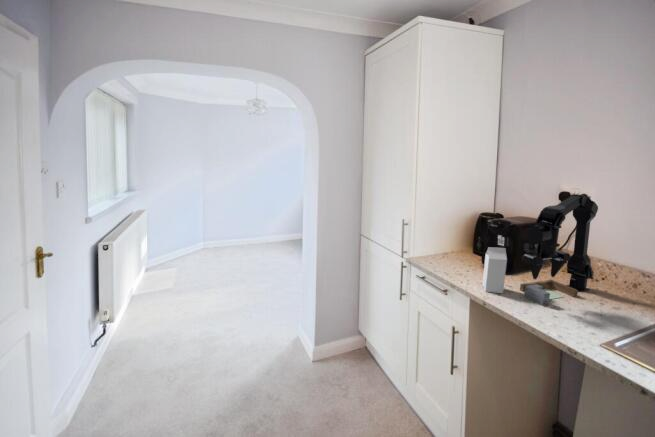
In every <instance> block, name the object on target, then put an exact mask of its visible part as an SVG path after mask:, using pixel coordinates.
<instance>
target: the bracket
mask: <svg viewBox="0 0 655 437" xmlns="http://www.w3.org/2000/svg"><path fill="white" fill-rule="evenodd" d="M523 296H524V298H525V299H527V300H529V301H531V302H533V303H535V304H538V305H540V306H541V307H545V306H549V305H550V304H549V303H550V299H549V297H550V293H548V292H546V291H544V290H543V287H542V286H540V285H537V284H535V285H528V286H526V287H525V291H524V295H523Z"/></svg>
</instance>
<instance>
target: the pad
mask: <svg viewBox="0 0 655 437" xmlns="http://www.w3.org/2000/svg"><path fill="white" fill-rule="evenodd" d="M543 290H544V291H546V292H548V293H550V297H549V300H555V299H561V298H565V296H563V295H562V294H560V293H556V292H554V291H552V290H550V289H549V288H544V289H543Z"/></svg>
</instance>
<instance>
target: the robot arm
mask: <svg viewBox="0 0 655 437" xmlns="http://www.w3.org/2000/svg"><path fill="white" fill-rule="evenodd" d="M598 211H599V206H598V205H597V203H596V202H595V201H593V199H592V200H591V199H590V198H588V197H587V196H586V195H584V194H578V193H577V194H576V193H573V194H572V193H571V194H570V196H569V197H567V198H565V199H564V200H563V201H561V202H559V203H558V204H555V205H549V206H546V207H543V208H542V210H541V211H540V212H539V214H538V216H537V219H536V221H535V222H534V228H532V229H530V230H529V231H528V233H527V238H528V240H529V241H530V242H526V243H524V245H523V250H524V252H526V253H524V254H523V255H522V261H523V262H524V263H526V264H527V265H528V266H529V268H530V271H531V276H532V278H533V280H537V279H538V277H539V275H540V272H541V269H542V267H543V264H542V263H543V261H546V260H547V261H548V260H549V261H550V263H551V266H550V277H551V278H555V276H556V275H557V274H558V273H559V271H560V270H561V269H562V268H563V267H564V266H565V265H566V273H567V274H570V279H569V284H565V285H566V286H569V287H571V288H574V289H576V290H578V292H585V291H590V288H588V287H587V286H588V280H589V279H590V280H591V279H593V277H594V274H595V272H594V270H593V266H592V261H591V258H590V256H589V255H588V250H589V249H588V247H589V236H590V230H591V229H590V228H591V222H592V220H594V219H595V217H596V216H597V213H598ZM571 212H572V217H573V218H574V220H575V222H576V226H575V235H574V245H573V247H574V248H573V253H572V254H570V253H569V252H566V251H562V250H557V248H558V247H560V243H558V242H559V235H560V234H559V232H560V229H562V224H563V222H564V221H565V220H566V216H567V215H568V214H570V213H571ZM532 243H533V244H532Z"/></svg>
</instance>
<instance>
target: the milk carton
mask: <svg viewBox="0 0 655 437" xmlns="http://www.w3.org/2000/svg"><path fill="white" fill-rule="evenodd" d="M506 250H507V248H505V247H492V246H491V247H490V246H488V247H487V250H486V252H485V254H484V255H485V256H484V266H483V275H482V288H483V289H484V291H485V292H486V293H496V292H497V293H498V294H499V293H500V294H503V293H504V288H505V279H506V272H507V263H508V257H507V251H506Z"/></svg>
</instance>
